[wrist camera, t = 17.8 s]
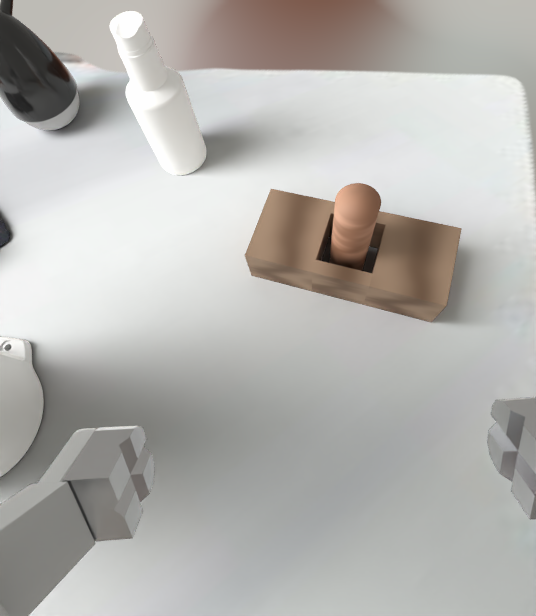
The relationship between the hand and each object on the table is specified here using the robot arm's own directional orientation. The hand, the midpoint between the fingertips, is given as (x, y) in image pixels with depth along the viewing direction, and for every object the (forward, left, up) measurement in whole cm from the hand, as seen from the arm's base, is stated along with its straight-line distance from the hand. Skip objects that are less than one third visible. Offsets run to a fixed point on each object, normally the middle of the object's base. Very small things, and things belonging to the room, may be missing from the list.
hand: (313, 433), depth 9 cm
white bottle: (-28, +31, -32) cm, 53 cm away
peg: (-2, +21, -31) cm, 38 cm away
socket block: (-2, +21, -31) cm, 38 cm away
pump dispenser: (-51, +34, -32) cm, 69 cm away
